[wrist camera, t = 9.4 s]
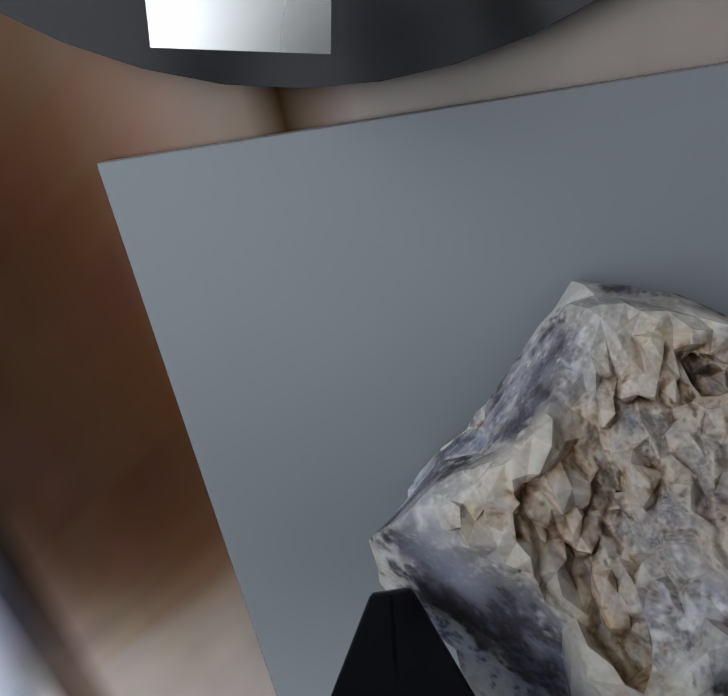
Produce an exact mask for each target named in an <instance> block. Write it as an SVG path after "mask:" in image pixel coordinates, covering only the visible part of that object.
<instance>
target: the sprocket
mask: <svg viewBox="0 0 728 696" xmlns="http://www.w3.org/2000/svg"><path fill="white" fill-rule="evenodd" d="M145 2H146V11H147V20H148V29H149V39H150V48H177V49H204V50H231V51H258V52H285V53H312V54H331V53H332V52H333V50H334V49H335V47H336V0H145Z"/></svg>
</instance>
